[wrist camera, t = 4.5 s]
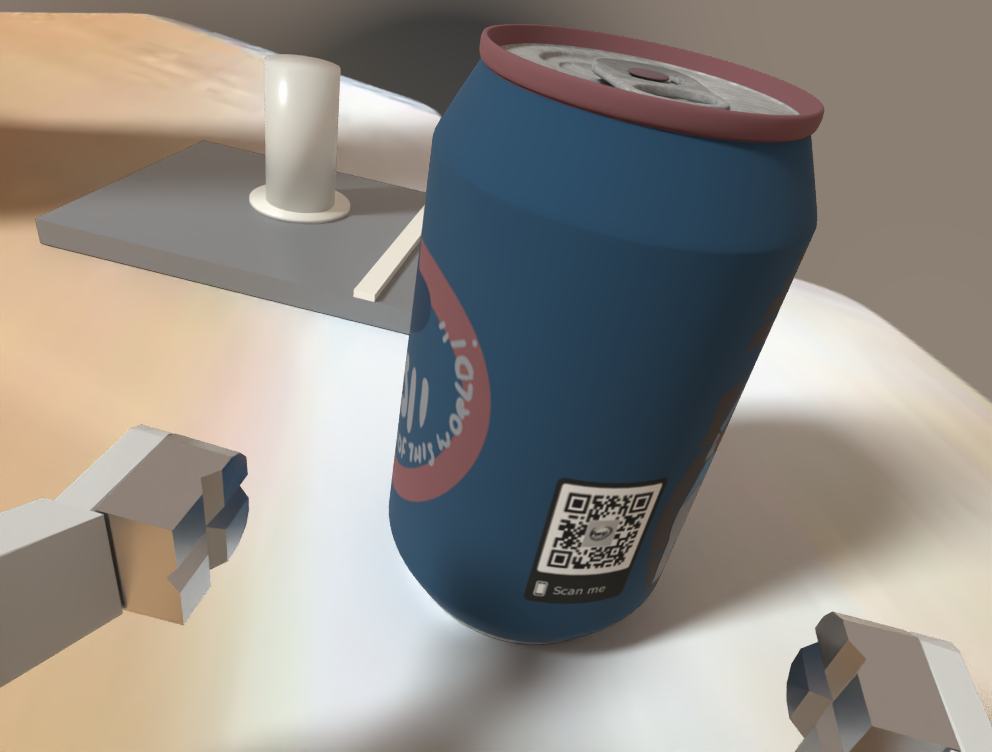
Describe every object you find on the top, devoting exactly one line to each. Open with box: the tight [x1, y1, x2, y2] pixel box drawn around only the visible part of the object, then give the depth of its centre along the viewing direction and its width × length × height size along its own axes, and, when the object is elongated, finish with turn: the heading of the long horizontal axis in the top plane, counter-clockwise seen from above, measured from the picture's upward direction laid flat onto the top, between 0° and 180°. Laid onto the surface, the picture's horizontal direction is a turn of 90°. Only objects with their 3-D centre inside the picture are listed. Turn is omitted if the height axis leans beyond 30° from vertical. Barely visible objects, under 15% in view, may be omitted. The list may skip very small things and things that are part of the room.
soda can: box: [389, 24, 824, 644], centre depth 15 cm, size 7×7×12 cm
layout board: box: [35, 54, 426, 334], centre depth 29 cm, size 26×12×7 cm, turn 79°
